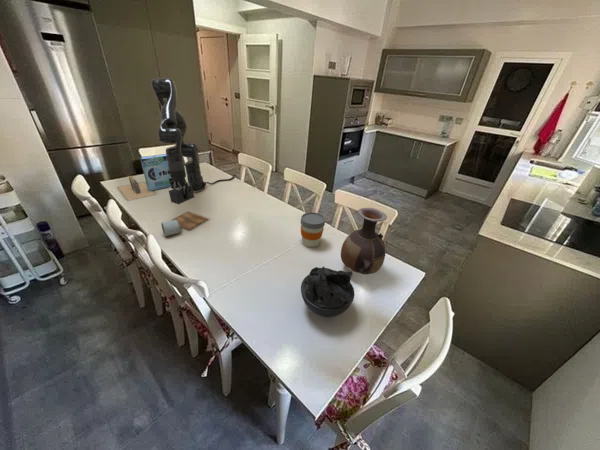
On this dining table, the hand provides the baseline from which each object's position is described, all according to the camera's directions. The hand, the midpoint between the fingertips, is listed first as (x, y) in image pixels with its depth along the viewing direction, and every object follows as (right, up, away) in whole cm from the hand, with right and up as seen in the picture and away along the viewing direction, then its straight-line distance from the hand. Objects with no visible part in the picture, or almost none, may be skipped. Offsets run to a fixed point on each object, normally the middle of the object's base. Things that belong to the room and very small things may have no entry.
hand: (182, 197), depth 139 cm
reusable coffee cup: (+71, -24, -3) cm, 75 cm away
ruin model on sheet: (-50, +9, +37) cm, 62 cm away
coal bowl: (+75, -48, -40) cm, 97 cm away
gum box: (-35, +12, +44) cm, 57 cm away
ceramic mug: (-5, -19, -3) cm, 20 cm away
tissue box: (0, -1, 0) cm, 1 cm away
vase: (+93, -36, -20) cm, 102 cm away
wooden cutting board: (0, -13, +7) cm, 15 cm away
